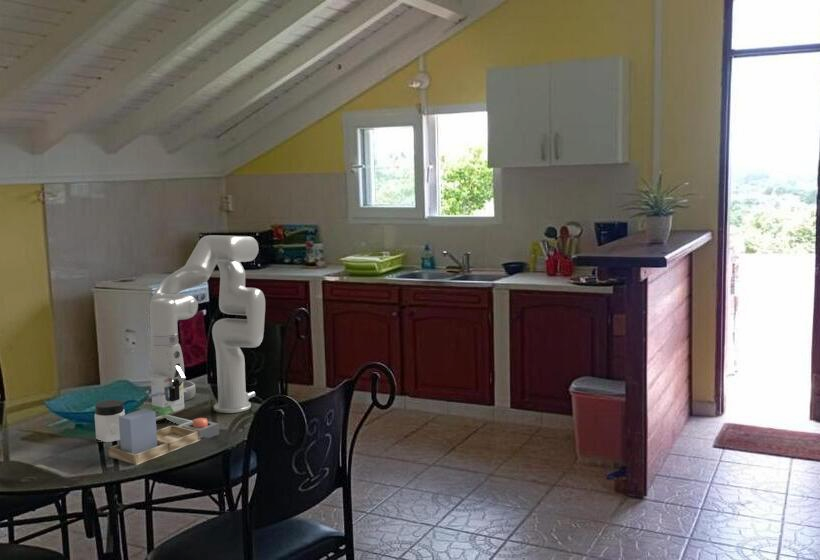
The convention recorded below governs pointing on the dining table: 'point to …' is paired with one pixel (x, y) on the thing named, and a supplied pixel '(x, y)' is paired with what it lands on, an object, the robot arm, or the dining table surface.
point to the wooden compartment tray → (158, 444)
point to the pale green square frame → (176, 420)
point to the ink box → (164, 396)
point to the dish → (188, 390)
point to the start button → (200, 423)
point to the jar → (108, 420)
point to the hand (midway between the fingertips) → (168, 398)
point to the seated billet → (138, 431)
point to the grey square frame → (205, 429)
